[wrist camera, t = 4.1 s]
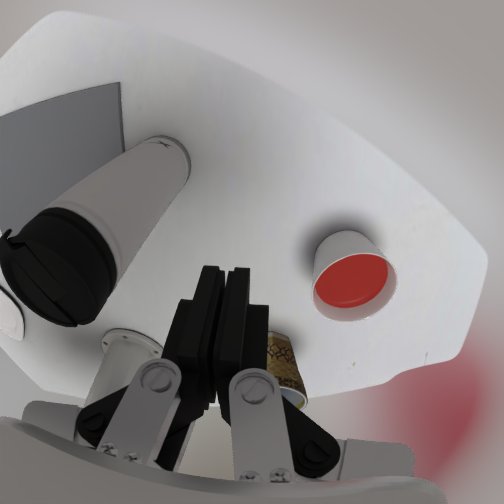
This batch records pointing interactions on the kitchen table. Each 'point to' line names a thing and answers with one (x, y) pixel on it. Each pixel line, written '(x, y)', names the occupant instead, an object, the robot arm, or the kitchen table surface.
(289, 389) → the ceramic cup
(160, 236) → the kitchen table surface
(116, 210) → the travel mug
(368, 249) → the candle
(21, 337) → the plate
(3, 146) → the mat
